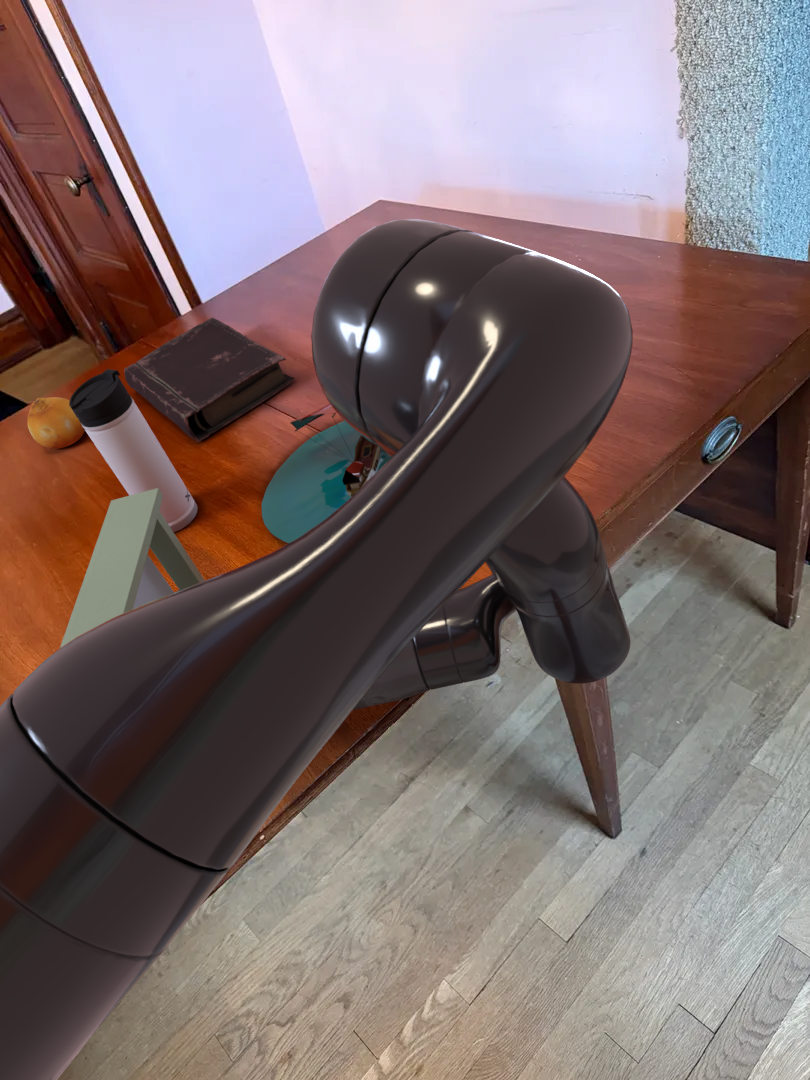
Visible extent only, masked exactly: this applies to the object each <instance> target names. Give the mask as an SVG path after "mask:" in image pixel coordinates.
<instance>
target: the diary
mask: <svg viewBox="0 0 810 1080" xmlns="http://www.w3.org/2000/svg"><path fill="white" fill-rule="evenodd" d="M286 360H287V358H286V357H284V356H282V355H281V354H278V353H277V352H275V351H274V350H271V349H270V348H268V347H266V346H264V345H263V344H260V343H258V342H256V341H254V340H253V339H251V338H249V337H247V336H245V335H244V334H242V333H241V332H239V331H238V330H237V329H235V328H233V327H232V326H230V325H228V324H226V323H225V322H223V321H220V320H218V319H217V318H215V317H213V316H212V317H210V318H208V319H206V320H204V321H202V322H201V323H199V324H196V325H195V326H194V327H192V328H190V329H187V330H186V331H185V332H182V333H180V334H179V335H176V336H175V337H174V338H172V339H170V340H169V341H167V342H165V343H164V344H162V345H161V346H158V347H157V348H155V349H154V350H152V351H151V352H149V353H148V354H146V355H144V356H143V357H141V358H140V359H138V360H137V361H135V362H134V363H132V364H130V365H129V366H126V367H125V368H124V370H123V371H124V379H125V382H126V383H127V385H128V386H129V387H130V388H131V389H132V390H134V391H135V392H136V393H138V394H139V395H140V396H142V397H143V399H145V400H146V401H147V402H149V404H150V405H152V406H153V407H154V408H155V409H156V410H157V411H158V412H160V413H161V414H162V415H164V417H166V418H168V419H169V420H170V421H172V422H173V423H174V424H175V425H176V426H177V427H178V428H179V429H180V430H181V431H183V432H184V433H185V434H186V435H187V436H189V438H191V439H193V440H194V442H197V443H201V442H202V441H203V440H205V439H206V438H208V437H209V436H211V434H212V435H213V434H214V433H216V432H218V431H220V430H221V429H222V428H224V427H225V426H227V425H229V424H231V422H233V421H235V420H237V419H238V418H240V417H242V416H243V415H245V414H246V413H248V412H250V411H251V410H252V409H254V408H256V407H257V406H259V405H261V404H262V403H264V402H265V401H267V400H269V399H270V398H271V397H273V396H274V395H276V394H277V393H279V392H280V391H281V390H283V389H284V388H285V387H287V386H289V385H290V384H291V383H292V381H293V380H294V378H295V377H294V376H290V375H288V374H286V373H284V372H283V370H282V368H281V365H280V362H284V361H286Z"/></svg>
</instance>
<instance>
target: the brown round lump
mask: <svg viewBox="0 0 810 1080" xmlns="http://www.w3.org/2000/svg"><path fill="white" fill-rule="evenodd" d="M69 402H70V399H67V398H64V397H57V396H52V397H37V398H36V399H35V401H33V403H32V404H31V405H30V409H29V411H28V414H27V417H26V419H27V420H26V421H27V423H26V424H27V430H28V431H29V433H30V435H31V437H32V438H33V440H34V441H35V442H36V443H37V444H38V445H41V446H42V447H44V448H46V449H51V450H52V449H53V450H59V449H63V448H67V447H69V446H71V445H74V444H75V443H77V442H78V441H79V440H80V439H81V438H82V437H83V435H84V433H85V432H86V431H85V429H84V428H83V427H82V425H81V423H80V421H79V419H78V418H77V417H76V415H75V414H74V412H73V410H72V409H71V407H70V406H69Z"/></svg>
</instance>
